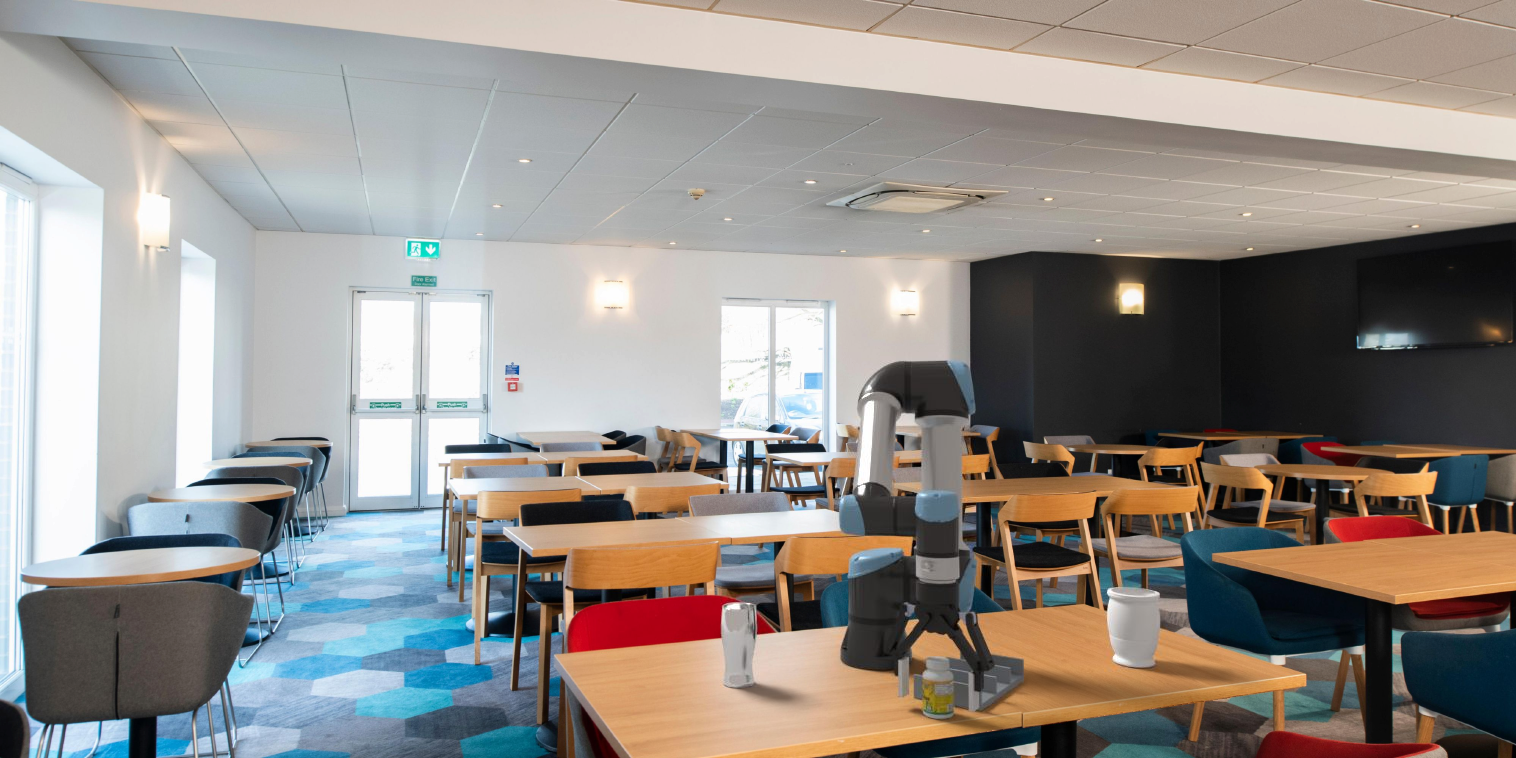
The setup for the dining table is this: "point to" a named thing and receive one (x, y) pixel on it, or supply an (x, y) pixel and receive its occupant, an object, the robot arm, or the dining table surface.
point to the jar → (1133, 625)
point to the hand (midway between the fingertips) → (938, 702)
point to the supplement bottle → (938, 689)
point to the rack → (995, 680)
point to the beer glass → (738, 643)
